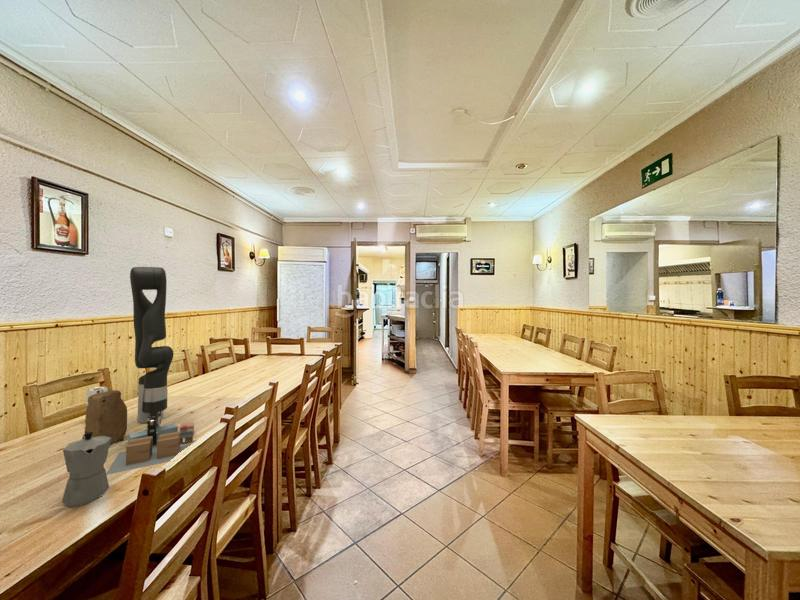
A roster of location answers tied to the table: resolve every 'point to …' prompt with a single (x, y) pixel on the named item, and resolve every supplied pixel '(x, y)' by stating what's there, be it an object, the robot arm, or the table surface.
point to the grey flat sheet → (121, 465)
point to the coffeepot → (86, 470)
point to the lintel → (161, 430)
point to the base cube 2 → (168, 445)
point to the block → (106, 415)
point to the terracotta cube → (188, 426)
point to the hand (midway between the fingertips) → (154, 441)
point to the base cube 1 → (139, 450)
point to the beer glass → (95, 392)
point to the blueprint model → (186, 436)
